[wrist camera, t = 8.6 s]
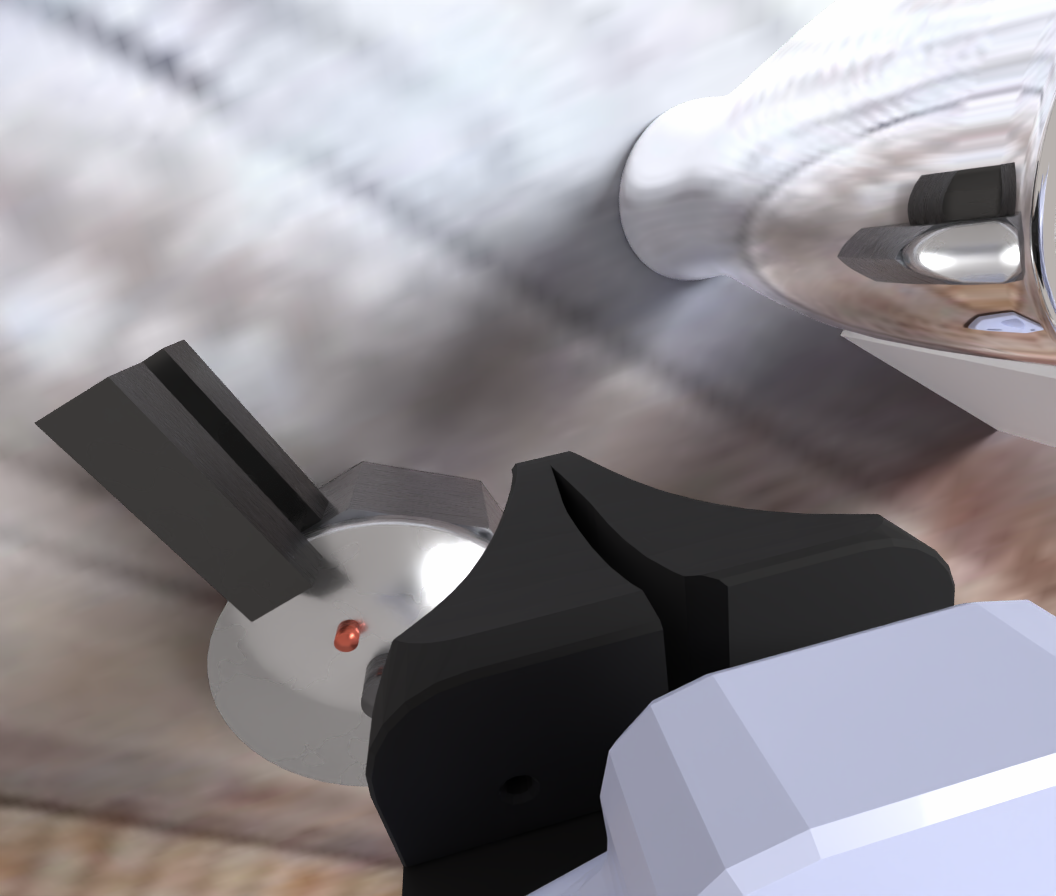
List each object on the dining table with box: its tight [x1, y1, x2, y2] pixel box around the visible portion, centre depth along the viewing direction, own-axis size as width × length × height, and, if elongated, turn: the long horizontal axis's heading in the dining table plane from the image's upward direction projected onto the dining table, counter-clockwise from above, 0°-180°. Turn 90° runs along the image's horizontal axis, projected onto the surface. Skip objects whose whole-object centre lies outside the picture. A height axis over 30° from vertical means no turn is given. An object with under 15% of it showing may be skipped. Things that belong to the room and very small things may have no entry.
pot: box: [143, 340, 503, 602], centre depth 21 cm, size 21×12×4 cm, turn 30°
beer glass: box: [619, 0, 1056, 367], centre depth 13 cm, size 7×7×15 cm
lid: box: [35, 362, 490, 786], centre depth 18 cm, size 19×12×2 cm, turn 29°
